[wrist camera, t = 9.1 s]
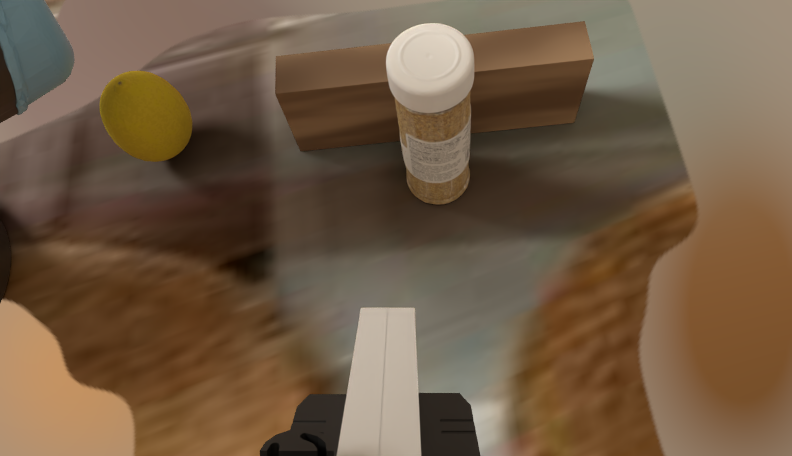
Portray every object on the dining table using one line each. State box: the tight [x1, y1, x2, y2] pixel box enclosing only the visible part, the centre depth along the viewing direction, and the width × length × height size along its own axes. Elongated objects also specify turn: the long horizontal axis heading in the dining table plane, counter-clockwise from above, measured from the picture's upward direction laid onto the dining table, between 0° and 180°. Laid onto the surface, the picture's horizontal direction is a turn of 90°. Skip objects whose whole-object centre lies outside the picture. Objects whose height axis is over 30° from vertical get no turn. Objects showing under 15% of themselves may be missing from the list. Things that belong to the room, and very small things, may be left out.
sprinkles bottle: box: [386, 23, 474, 204], centre depth 37 cm, size 5×5×14 cm
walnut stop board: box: [275, 21, 594, 151], centre depth 42 cm, size 3×20×7 cm, turn 94°
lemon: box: [100, 71, 192, 162], centre depth 43 cm, size 6×6×8 cm
